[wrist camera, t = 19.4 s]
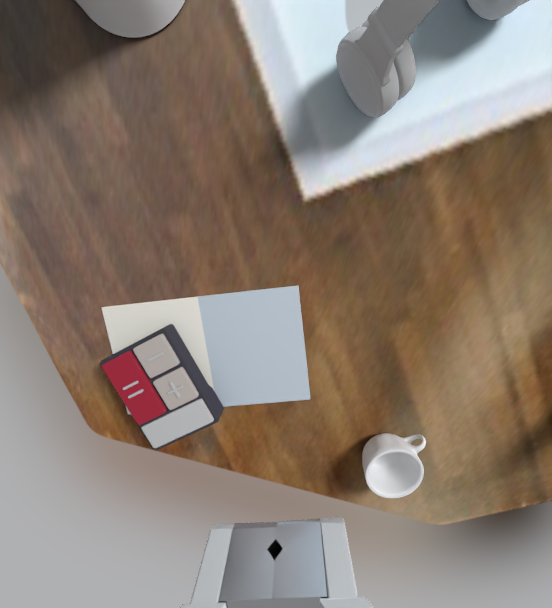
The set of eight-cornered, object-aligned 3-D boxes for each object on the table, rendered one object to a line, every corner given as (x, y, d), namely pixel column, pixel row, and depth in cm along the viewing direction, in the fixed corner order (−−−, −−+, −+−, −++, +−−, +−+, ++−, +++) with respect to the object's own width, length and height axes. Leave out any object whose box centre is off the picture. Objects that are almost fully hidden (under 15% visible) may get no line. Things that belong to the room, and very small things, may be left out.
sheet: (102, 307, 46) (101, 307, 46) (298, 285, 44) (298, 285, 44) (128, 413, 49) (127, 414, 49) (310, 398, 47) (310, 399, 47)
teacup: (380, 479, 50) (390, 508, 45) (346, 446, 49) (353, 473, 44) (432, 440, 48) (449, 466, 43) (398, 406, 47) (411, 428, 42)
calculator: (161, 329, 42) (218, 424, 44) (174, 321, 46) (225, 408, 48) (94, 364, 44) (151, 455, 45) (112, 354, 48) (164, 437, 50)
